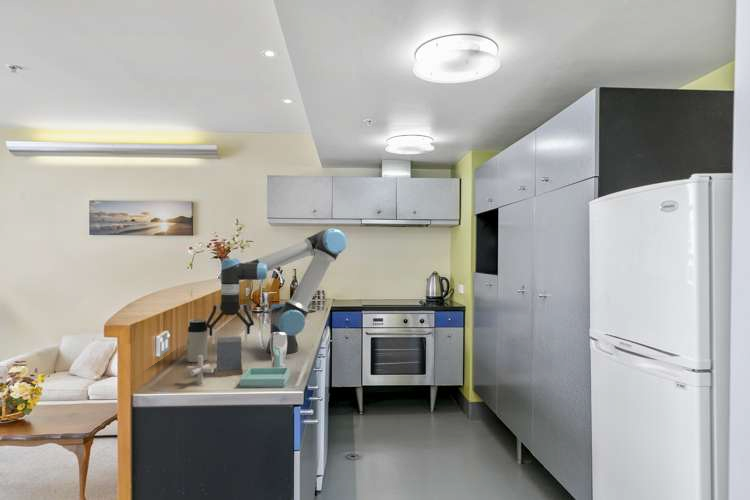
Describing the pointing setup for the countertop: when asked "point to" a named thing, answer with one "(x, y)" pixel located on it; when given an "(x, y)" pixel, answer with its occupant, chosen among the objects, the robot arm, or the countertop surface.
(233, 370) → the mounted unit
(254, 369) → the tray
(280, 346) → the beer glass
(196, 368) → the pipe connector
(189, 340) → the travel mug
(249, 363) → the countertop surface
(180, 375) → the countertop surface
